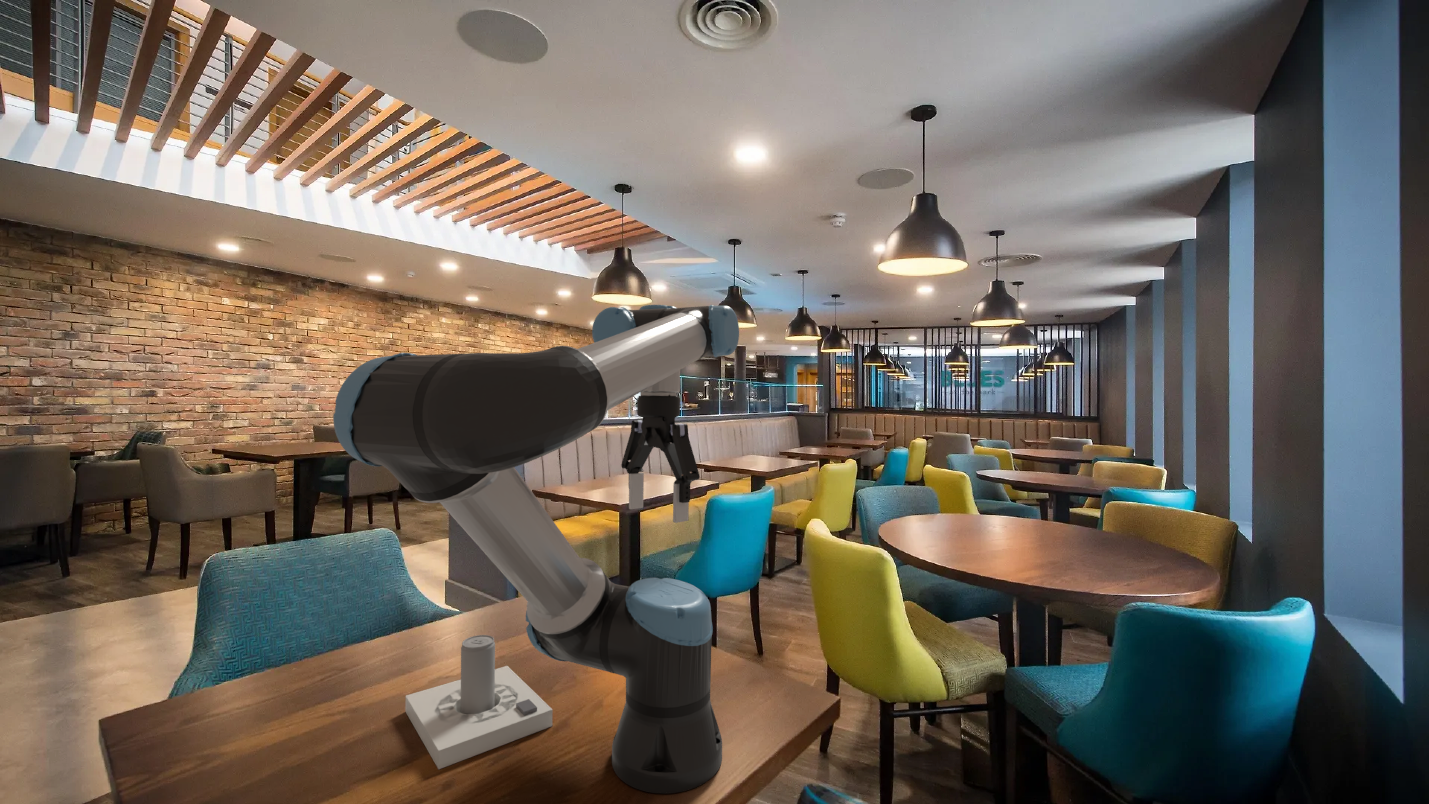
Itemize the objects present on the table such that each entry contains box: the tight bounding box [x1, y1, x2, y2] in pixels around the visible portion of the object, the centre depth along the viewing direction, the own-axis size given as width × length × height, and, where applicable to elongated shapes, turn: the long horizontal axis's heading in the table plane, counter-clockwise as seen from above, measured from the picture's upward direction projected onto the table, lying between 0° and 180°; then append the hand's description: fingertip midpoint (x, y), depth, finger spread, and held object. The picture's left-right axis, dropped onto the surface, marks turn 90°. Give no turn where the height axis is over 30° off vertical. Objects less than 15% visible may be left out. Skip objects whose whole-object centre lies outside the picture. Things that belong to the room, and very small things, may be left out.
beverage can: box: [460, 634, 496, 715], centre depth 89 cm, size 5×5×12 cm
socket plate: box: [404, 665, 554, 770], centre depth 89 cm, size 18×16×3 cm
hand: (657, 514), depth 103 cm, fingers open, 13 cm apart
